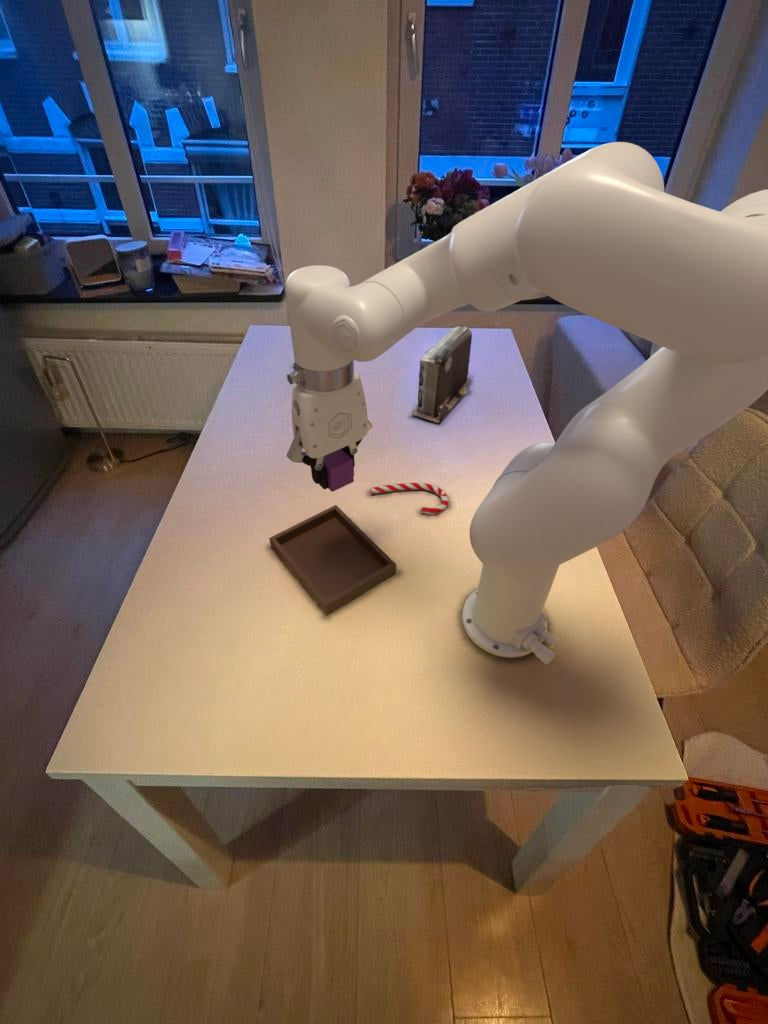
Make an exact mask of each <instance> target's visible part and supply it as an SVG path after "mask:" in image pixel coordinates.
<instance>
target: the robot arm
mask: <svg viewBox="0 0 768 1024" xmlns="http://www.w3.org/2000/svg"><path fill="white" fill-rule="evenodd" d="M284 289H285V297H286V305H287V312H288V321H289V329H290V336H291V345H292V352H293V359H294V362H293V363H292V365H293V364H294V365H293V371H291V372H290V373H288V374H286V378H287V382H288V383H289V384H290V385H292V392H291V423H292V433H293V440H292V441H291V444H290V446H289V448H288V451H287V453H286V457H287V458H288V459H289V460H290V461H291V462H293V463H297V464H299V463H300V464H304V465H305V466H309V467H310V471H311V472H310V473H311V479H312V481H313V482H314V483H315V485H319V487H321V488H322V489H323V490H327V489H328V478H327V469H326V467H324V466H323V461H324V456H325V455H327V454H330V453H332V452H334V451H337V450H339V449H342V450H343V451H344V452H345V453H346V454H347V455H348V456H350V457H351V458H352V459H353V475H354V476H355V466H356V465H355V464H356V462H355V461H356V460H355V456H356V454H357V453H358V450H359V449H358V447H359V445H360V444H361V443H362V441H363V439H364V438H365V437H366V436H367V435H368V432H369V431H370V430H371V429H372V428H373V424H372V422H371V421H370V420H369V419H368V410H367V402H366V395H365V392H364V387H363V386H364V385H363V383H362V379H361V376H360V373H358V372H357V371H356V370H355V364H354V363H355V362H360V363H367V362H371V361H374V360H375V359H377V358H379V357H380V356H382V355H383V354H384V353H386V352H387V351H389V350H390V349H391V348H392V347H394V345H396V344H397V343H398V342H400V341H401V340H402V339H404V338H405V337H406V336H407V335H408V334H410V333H411V332H412V331H414V330H416V329H417V328H419V327H420V326H422V325H423V324H425V323H426V322H429V321H431V320H433V319H436V318H438V317H440V316H443V315H445V314H448V313H449V312H452V311H454V310H456V309H459V308H462V307H465V306H468V305H471V306H472V308H474V309H475V310H478V311H480V312H483V313H493V312H496V311H500V310H501V309H504V308H506V307H509V306H511V305H513V304H516V303H519V302H522V301H523V300H526V299H528V298H530V297H532V296H535V295H538V294H540V293H543V294H545V295H547V296H548V297H550V298H551V299H553V300H555V301H557V302H558V303H560V304H562V305H565V306H566V307H569V308H570V309H573V310H575V311H577V312H579V313H581V314H584V315H586V316H588V317H589V318H593V319H595V320H596V321H597V320H598V321H600V322H602V323H604V324H608V325H610V326H612V327H614V328H616V329H619V330H621V331H624V332H626V333H629V334H631V335H634V336H636V337H638V338H641V339H644V340H646V341H647V342H650V343H653V344H655V345H658V346H660V349H658V350H657V351H656V352H655V353H652V355H651V356H650V357H649V358H648V359H646V360H645V361H644V362H643V363H642V364H641V365H640V366H638V367H637V368H636V369H634V370H633V371H632V372H630V373H629V374H628V375H626V376H625V377H624V378H622V379H621V380H620V381H619V382H617V383H616V384H615V385H613V386H612V387H610V388H609V389H608V390H607V391H605V392H604V393H603V394H601V395H600V396H598V397H597V398H595V399H594V400H593V401H591V402H590V403H589V404H587V405H586V406H584V407H583V408H582V409H580V410H579V411H578V412H577V413H576V414H575V415H574V416H573V417H572V418H571V419H570V421H569V422H568V423H567V425H565V427H564V429H563V430H562V432H561V433H560V435H559V437H558V438H557V439H556V441H555V442H553V441H543V442H538V443H534V444H531V445H529V446H527V447H525V448H524V449H522V450H520V451H519V452H518V453H517V454H516V455H515V456H514V457H513V458H512V459H511V461H509V463H508V464H507V465H506V466H505V467H504V470H503V471H502V473H500V475H499V476H498V478H497V479H496V481H495V482H494V484H493V485H492V487H491V488H490V490H489V492H488V493H487V494H486V496H485V497H484V499H483V500H482V501H481V503H480V504H479V506H478V507H477V509H476V510H475V511H474V513H473V516H472V518H471V521H470V525H469V542H470V545H471V547H472V551H473V552H474V555H475V556H476V557H477V559H478V560H479V561H480V562H481V563H482V568H481V572H480V575H479V576H480V577H479V581H478V586H477V589H476V590H474V591H473V592H472V593H471V594H469V596H468V597H467V598H466V600H465V601H464V605H463V608H462V614H461V620H462V625H463V628H464V631H465V632H466V634H467V636H468V637H469V638H470V640H471V641H472V642H473V643H474V644H475V645H476V646H478V648H480V649H482V650H483V651H485V652H486V653H489V654H491V655H494V656H497V657H502V658H511V659H513V658H520V657H524V656H528V655H530V654H531V653H533V654H534V655H535V656H536V658H538V659H539V660H540V661H541V662H542V663H543V664H545V665H548V664H550V663H551V661H552V660H553V659H554V658H555V656H556V653H554V652H553V651H552V650H551V649H550V648H548V647H547V646H546V645H544V644H543V642H545V643H546V644H547V645H548V646H550V647H551V648H554V647H555V646H556V645H557V644H558V642H559V639H558V638H556V636H554V635H553V634H552V633H550V632H549V631H548V616H547V615H546V613H545V610H544V608H545V605H546V603H547V600H548V597H549V595H550V592H551V590H552V587H553V583H554V581H555V578H556V575H557V572H558V570H559V568H560V565H562V564H564V563H566V562H568V561H571V560H572V559H575V558H576V557H579V556H581V555H583V554H585V553H587V552H589V551H591V550H593V549H595V548H597V547H599V546H601V545H603V544H605V543H607V542H609V541H611V540H613V539H614V538H616V537H617V536H619V535H620V534H622V533H623V532H624V531H625V530H626V529H627V528H628V527H630V525H632V524H633V523H634V521H636V519H637V518H638V517H639V516H640V514H641V513H642V511H643V510H644V508H645V506H646V504H647V502H648V500H649V498H650V494H651V492H652V491H653V490H652V489H653V488H654V487H653V486H654V485H655V481H656V480H657V478H658V475H659V474H660V472H661V470H662V469H663V467H664V466H665V465H666V464H667V462H669V461H670V460H671V459H672V458H674V457H675V456H676V455H678V454H679V453H681V452H682V451H684V450H685V449H687V448H689V447H690V446H692V445H694V444H695V443H697V442H698V441H700V440H701V439H703V438H705V437H706V436H707V435H710V433H712V432H713V431H716V430H717V429H718V428H719V427H721V426H723V425H724V424H726V423H727V422H729V421H730V420H732V419H734V418H735V417H736V416H738V415H739V414H741V413H743V411H745V410H747V408H749V407H750V406H751V405H753V404H754V403H755V402H756V401H757V400H759V399H760V398H761V397H762V396H763V395H764V394H765V393H766V392H767V391H768V189H767V188H766V189H762V190H758V191H755V192H752V193H749V194H747V195H745V196H743V197H741V198H738V199H737V200H735V201H734V202H732V203H730V204H729V205H727V206H726V207H724V208H723V209H722V210H721V211H719V210H716V209H713V208H710V207H708V206H707V207H706V206H704V205H700V204H697V203H694V202H691V201H688V200H685V199H683V198H680V197H678V196H675V195H672V194H669V193H667V192H665V181H664V178H663V174H662V172H661V169H660V166H659V165H658V162H657V161H656V160H655V159H654V157H653V155H652V154H651V153H649V152H648V150H646V149H645V148H643V147H641V146H640V145H638V144H635V143H631V142H628V141H627V142H626V141H613V142H607V143H604V144H601V145H598V146H595V147H593V148H590V149H588V150H587V151H585V152H583V153H581V154H579V155H577V156H576V157H574V158H572V159H570V160H568V161H566V162H565V163H563V164H561V165H559V166H558V167H556V168H553V169H552V170H550V171H549V172H547V173H544V174H543V175H542V176H539V177H538V178H536V179H534V180H533V181H531V182H529V183H527V184H526V185H524V186H523V187H520V188H519V189H517V190H515V191H513V192H512V193H510V194H507V195H506V196H504V197H502V198H501V199H499V200H497V201H495V202H494V203H492V204H490V205H488V206H486V207H485V208H483V209H481V210H479V211H477V212H475V213H473V214H472V215H470V216H468V217H466V218H465V219H463V220H461V221H460V222H458V223H457V224H455V225H454V226H453V227H452V229H451V231H450V232H449V233H448V234H446V235H445V236H443V237H442V238H440V239H438V240H436V241H433V242H432V243H431V244H429V245H427V246H425V247H423V248H422V249H420V250H418V251H416V252H415V253H413V254H411V255H409V256H407V257H405V258H403V259H401V260H399V261H398V262H396V263H394V264H392V265H390V266H388V267H387V268H385V269H383V270H381V271H379V272H378V273H376V274H374V275H372V276H370V277H369V278H367V279H366V280H364V281H362V282H360V283H357V284H356V285H352V286H351V282H350V280H349V278H348V276H347V275H346V272H344V271H342V270H341V269H339V268H338V267H334V266H330V265H321V264H320V265H319V264H318V265H317V264H316V265H315V264H314V265H308V266H304V267H303V266H302V267H300V268H297V269H295V270H293V271H292V272H291V273H290V274H289V275H288V277H287V278H286V281H285V288H284ZM303 450H304V451H303Z"/></svg>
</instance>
